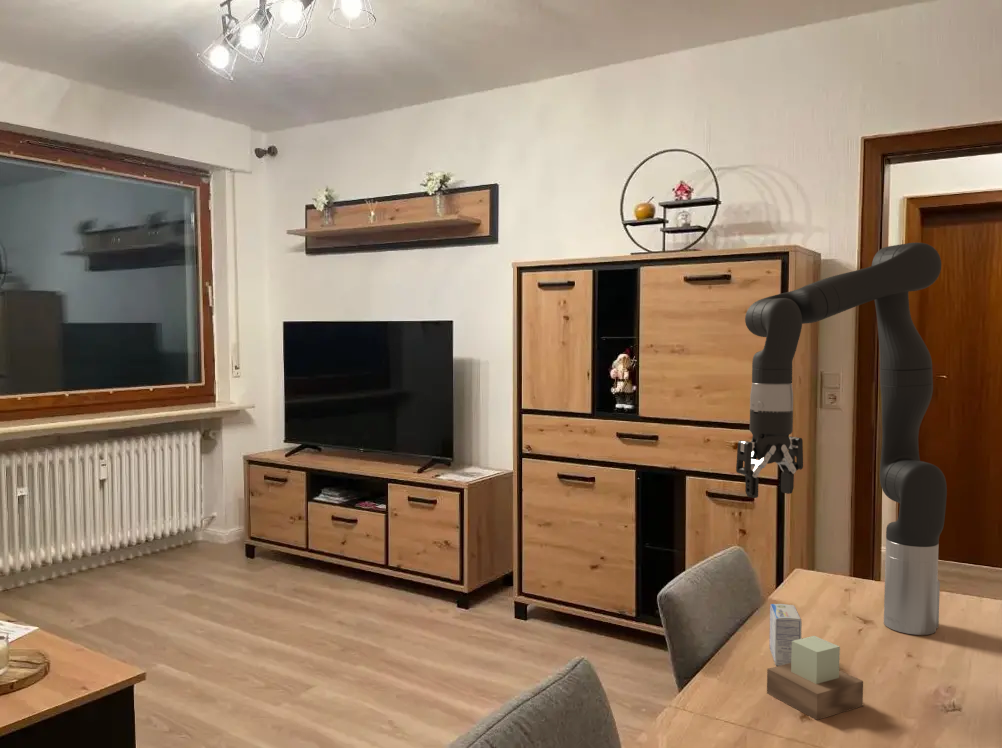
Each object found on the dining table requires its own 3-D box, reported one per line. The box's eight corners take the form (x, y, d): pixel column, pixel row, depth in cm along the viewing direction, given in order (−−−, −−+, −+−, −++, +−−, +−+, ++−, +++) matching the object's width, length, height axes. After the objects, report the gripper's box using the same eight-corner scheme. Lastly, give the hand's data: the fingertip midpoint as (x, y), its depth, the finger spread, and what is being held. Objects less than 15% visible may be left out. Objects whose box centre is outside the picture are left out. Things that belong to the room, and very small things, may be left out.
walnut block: (811, 681, 133) (811, 657, 133) (862, 706, 124) (863, 681, 124) (766, 693, 129) (767, 668, 129) (816, 720, 120) (817, 693, 120)
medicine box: (801, 668, 138) (802, 619, 138) (774, 666, 139) (775, 617, 139) (794, 651, 146) (795, 604, 146) (768, 649, 147) (769, 602, 146)
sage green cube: (813, 665, 130) (814, 635, 129) (839, 677, 125) (839, 646, 125) (791, 671, 127) (791, 640, 127) (816, 683, 123) (817, 652, 123)
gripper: (784, 404, 153) (782, 488, 154) (727, 407, 147) (725, 495, 148) (815, 407, 146) (813, 495, 147) (757, 411, 140) (755, 502, 141)
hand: (769, 495), depth 147 cm, fingers open, 8 cm apart
